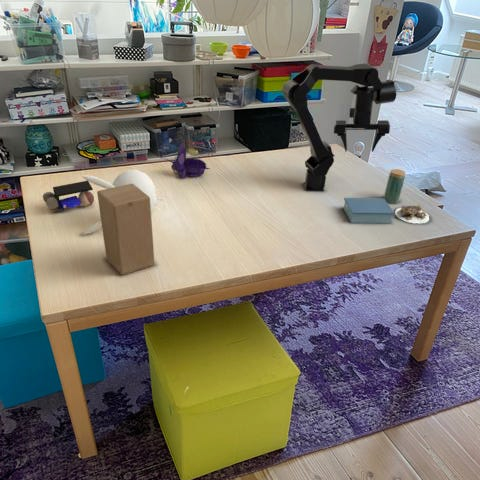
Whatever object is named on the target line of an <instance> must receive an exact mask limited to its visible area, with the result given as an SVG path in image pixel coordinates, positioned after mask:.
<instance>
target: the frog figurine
mask: <svg viewBox="0 0 480 480" xmlns="http://www.w3.org/2000/svg"><path fill="white" fill-rule="evenodd" d="M394 215H395V217H396V218H397V219H398V220H401V221H403V222H406V223H409V224H419V225H421V224H422V225H423V224H425V225H426V224H427V223H429V221H430V215H429V213H428V212H426V211H423V209H422V207H421V205H419V204H417V205H407V206H405V205H403V206H400V207H397V208H396V209H395V211H394Z"/></svg>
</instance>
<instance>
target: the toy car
mask: <svg viewBox="0 0 480 480" xmlns="http://www.w3.org/2000/svg"><path fill="white" fill-rule="evenodd" d="M52 191H53V192H51V191H46V192H44V193H43V195H42V199H43V202H45V205H46V207H47V208H48V209H50V210H55V211H54V213H61V212H63V211H64V210H66V209H70V208H75V207H77V206H84V207H90V206H92V205H93V204H94V202H95V196H94V194H93V193H92V192H91V191H93V187H92V184H91V182H89V181H87V180H84V181H79V182H73V183H72V182H71V183H67V184H62V185H56V186H52ZM74 194H78V196H77V195H74ZM69 195H71V196H69ZM64 196H68V197H65V198H60V197H64ZM57 209H58V210H57Z"/></svg>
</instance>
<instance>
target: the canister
mask: <svg viewBox="0 0 480 480" xmlns="http://www.w3.org/2000/svg"><path fill="white" fill-rule="evenodd" d="M405 179H406V171H405V170H402V169H398V168H392V169H390V172H389V174H388V177H387V182H386V186H385V190H384V193H383V198H384V199H385V200H386V202H387V203H388V204H398V203H399V202H400V198H401V194H402V190H403V186H404V183H405Z"/></svg>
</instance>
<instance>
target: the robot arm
mask: <svg viewBox="0 0 480 480" xmlns="http://www.w3.org/2000/svg"><path fill="white" fill-rule="evenodd" d="M318 81H334V82H335V81H338V82H352V83H354V86H353V87H352V88H351V89H350V90H349V92H350V93H352V94H353V95H355V101H354V102H355V103H354V107H350V108H349V113H348V118H350V119H352V122H353V123H347V120H335V121H334V122H333V123H334V125H333V134H335V135H337V136H338V137H340V139H341V141H342V144H343V147H344V152H347V151H348V141H347V131H374V136H373V140H372V141H373V142H372V145H371V153H373V152H374V151H375V149H376V147H377V145H378V143H379V142H380V140H381V139H382V137H386V135H387V134H390V131H391V124H390V121H389V120H386V119H385V120H383V119H382V120H379V119H378V120H377V123H372V122H371V121H372V112H373V103H375V104H376V105H381V104H382V105H383V104H388V103H390V104H391V103H394V102H395V101H396V98H397V89H396V86H395V80H392V79H389V80H385V81H381V79H380V77H379V70H378V69H377V67H375V66H372V65H370V64H368V63H358V64H354V65H351V66H342V65H341V66H340V65H323V64H322V65H321V64H315V63H311V64H309V65H308V66H307V67H306V68H305V69H304V70H302V71H300V72H299V73H297V74H295V75H294V76H293V77H292V78H290V79H288V80H287V81H285V82H284V84H283V86H282V88H281V92H282V96H283V97H284V98H285V100H286V101H287V103H288V104H289V105H290V106H291V108H292V109H293V110H294V112H295V115H296V116H297V119H298V121H299V124H300V126H301V128H302V131H303V133H304V135H305V137H306V139H307V141H308V143H309V146H310V149H309V150H310V151H309V152H310V156H309V157H308V158H307V159H306V160H305V161H304V166H305V168H307V169H306V171H305V179H304V182H303V187H304V188H305V190H306V191H309V192H310V191H313V192H324V191H325V186H326V179H327V176H326V175H328V172H329V171H330V169H331V168H332V166H333V164H334V162H335V158H334V157H335V154H334V153H333V150H332V146H331V145H329V144H328V142H326V141H325V140H322V137H321V135H320V133H319V131H318V128H317V125H316V124H315V121H314V119H313V116H312V114H311V112H310V109H309V107H308V96H307V95H308V94H309V93H310V92H311V91H312V89H313V88H314V86H315V85H316V83H317V82H318ZM359 85H360V86H359Z"/></svg>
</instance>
